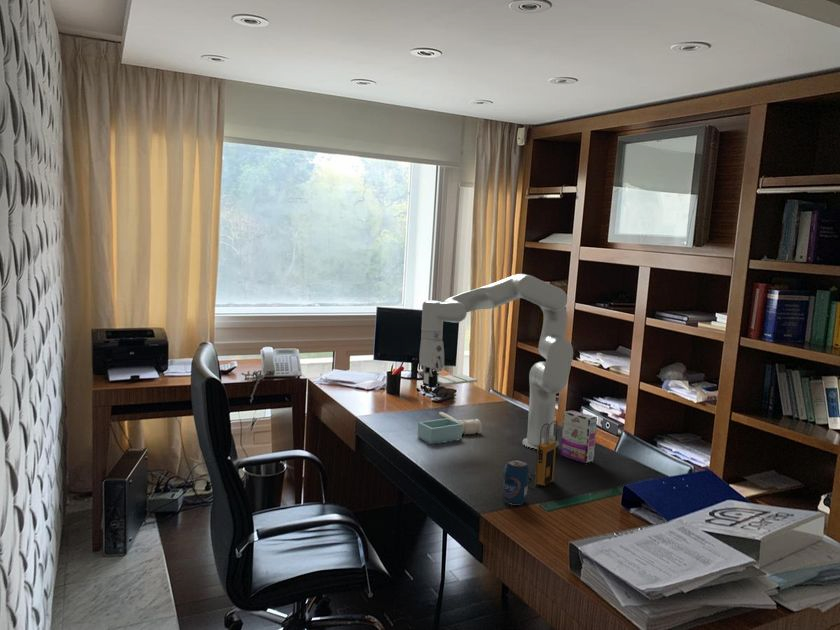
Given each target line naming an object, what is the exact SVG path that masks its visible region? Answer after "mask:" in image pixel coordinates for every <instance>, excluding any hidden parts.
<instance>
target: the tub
mask: <svg viewBox="0 0 840 630" xmlns="http://www.w3.org/2000/svg"><path fill="white" fill-rule="evenodd" d="M417 424H418V426H417V438H418V439H419V438H421V439H423V440H424V441H423V440H422V441H423V442H425V441H426V442H425V443H427V442H428V443H430V444H432V445H434V444H433V443H438V444H440V443H439V442H444V441H450V442H452V441H451V440H456V441H458V440H457V439H462V438H463V437H462V435H463V434H462V424H461V423H458V422H456V421H454V420H452V419H450V418H439V419H432V420H426V421H425V420H424V421H418V422H417ZM421 439H420V440H421ZM428 443H427V444H428ZM444 443H445V442H444ZM430 444H429V445H430Z"/></svg>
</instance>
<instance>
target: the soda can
mask: <svg viewBox="0 0 840 630" xmlns="http://www.w3.org/2000/svg"><path fill="white" fill-rule="evenodd" d="M529 470H530V469H529V467H528V463H527V462H526V460H523V459H518V458H511V459H508V460H507V461H506V464H505V466H504V473H503V474H504V475H503V488H502V489H503V490H502V498H503V500H505V501H506V502H508V503H512V504H522V503H524V502H525V503H526V502H527V500H528V489H529V488H528V487H529V486H528V485H529V484H528V483H529V478H528V476H529V474H530V471H529ZM505 501H504V502H505ZM506 502H505V503H506ZM525 503H524V504H525Z"/></svg>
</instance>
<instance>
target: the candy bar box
mask: <svg viewBox="0 0 840 630" xmlns="http://www.w3.org/2000/svg"><path fill="white" fill-rule="evenodd" d="M562 417H563V418H562V430H561V431H562V433H561V445H560V455H561V454H563V455H566V456H568V457H571V458H574V459H577V460H579V461H583V462H585V463H587V462H590V461H593V460H594V461H595V449H596V437H597V426H598V425H597V424H598V417H597V416H595V415H591V414H588V413H587V414H586V413H584V412H581V411H580V412H579V411H576V410H571V409H570V410H566V411H563V416H562Z"/></svg>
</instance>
